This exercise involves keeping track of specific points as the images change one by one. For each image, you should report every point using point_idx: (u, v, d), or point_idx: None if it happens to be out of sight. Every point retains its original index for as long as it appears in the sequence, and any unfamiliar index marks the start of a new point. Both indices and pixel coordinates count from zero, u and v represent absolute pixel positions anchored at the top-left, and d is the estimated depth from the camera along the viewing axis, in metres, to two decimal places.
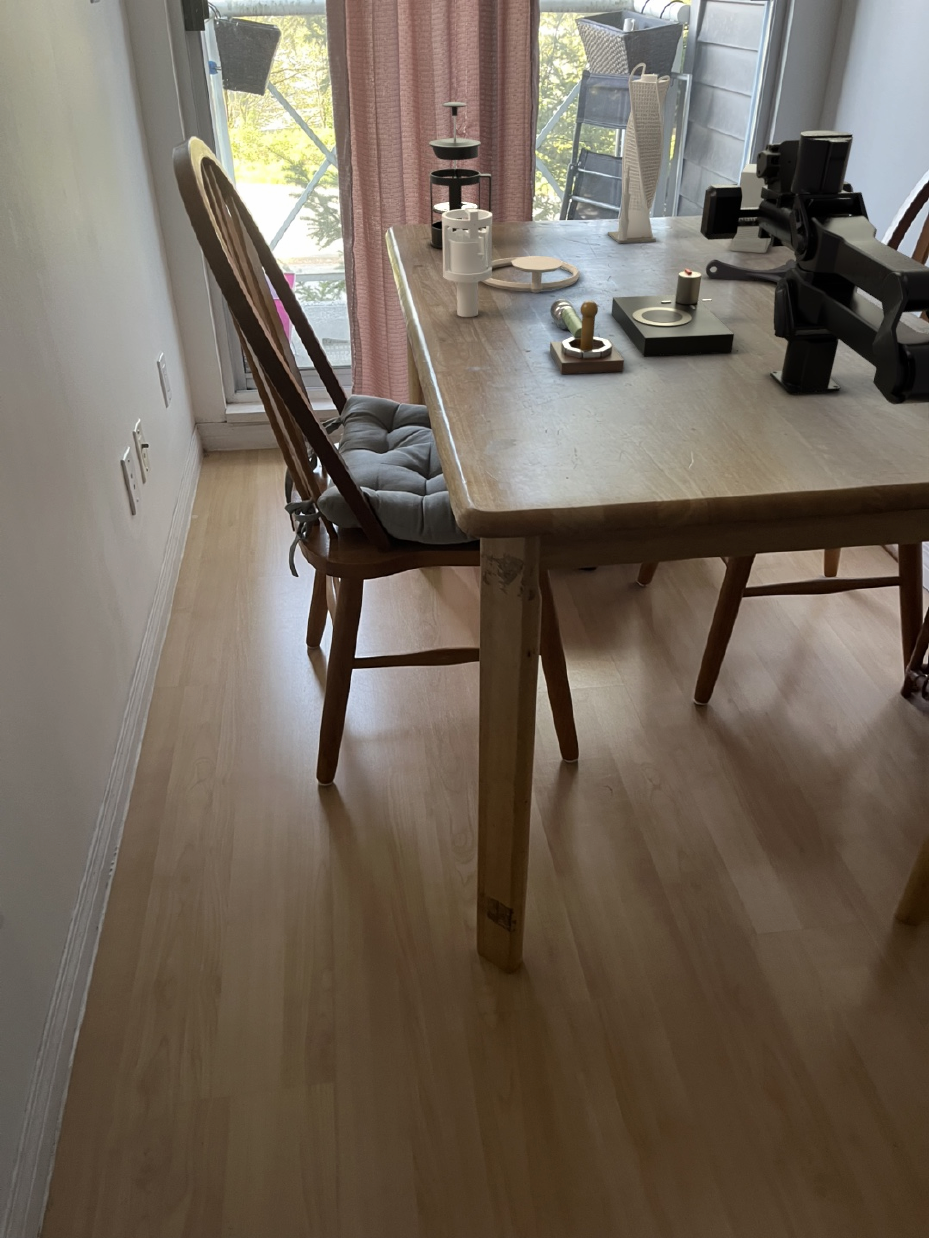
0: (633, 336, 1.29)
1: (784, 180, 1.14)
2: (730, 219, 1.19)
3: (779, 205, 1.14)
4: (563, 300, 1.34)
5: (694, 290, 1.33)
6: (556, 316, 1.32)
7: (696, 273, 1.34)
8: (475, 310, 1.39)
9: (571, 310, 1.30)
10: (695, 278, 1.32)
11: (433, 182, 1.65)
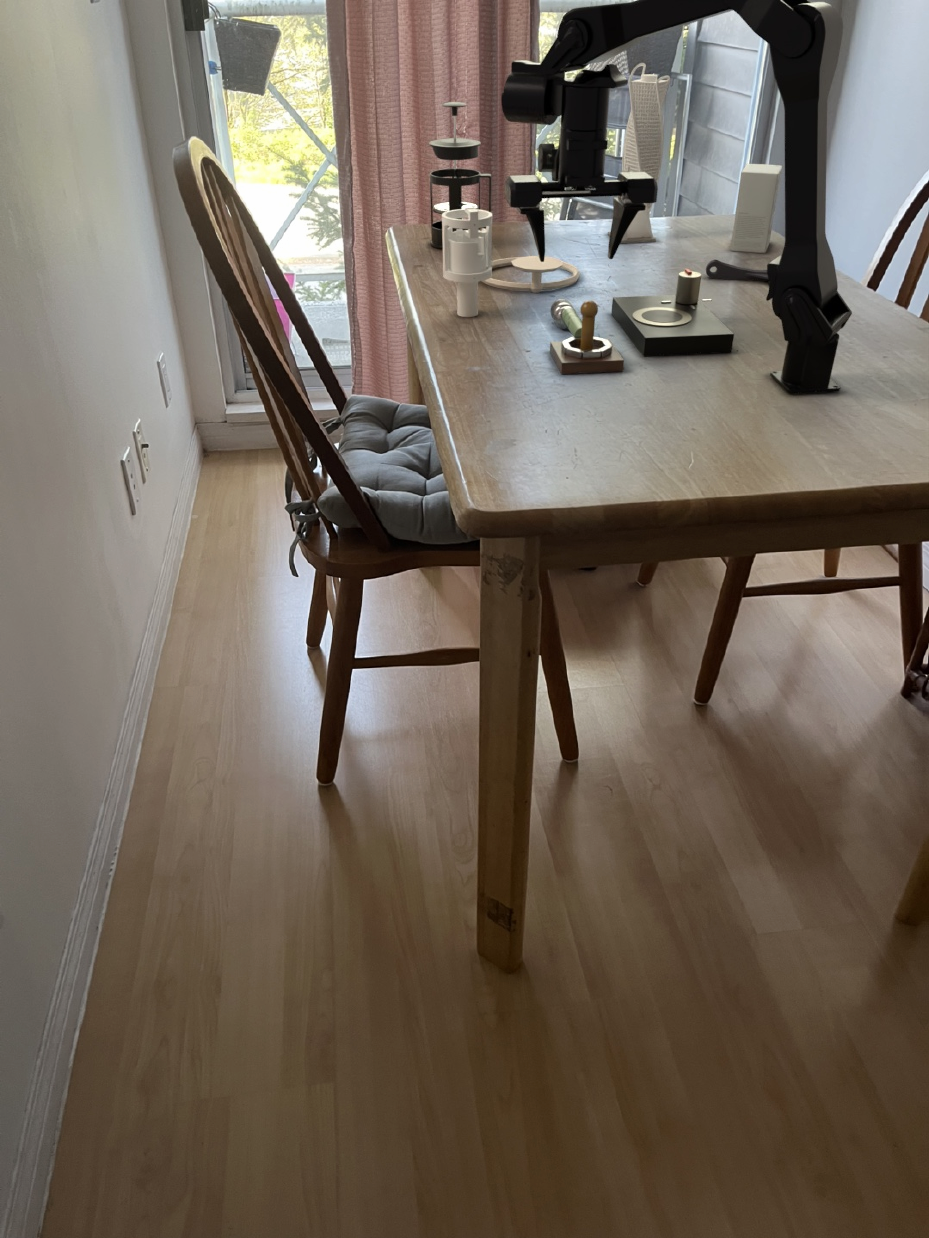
0: (633, 336, 1.29)
1: None
2: (530, 179, 1.18)
3: None
4: (563, 300, 1.34)
5: (694, 290, 1.33)
6: (556, 316, 1.32)
7: (696, 273, 1.34)
8: (475, 310, 1.39)
9: (571, 310, 1.30)
10: (695, 278, 1.32)
11: (433, 182, 1.65)
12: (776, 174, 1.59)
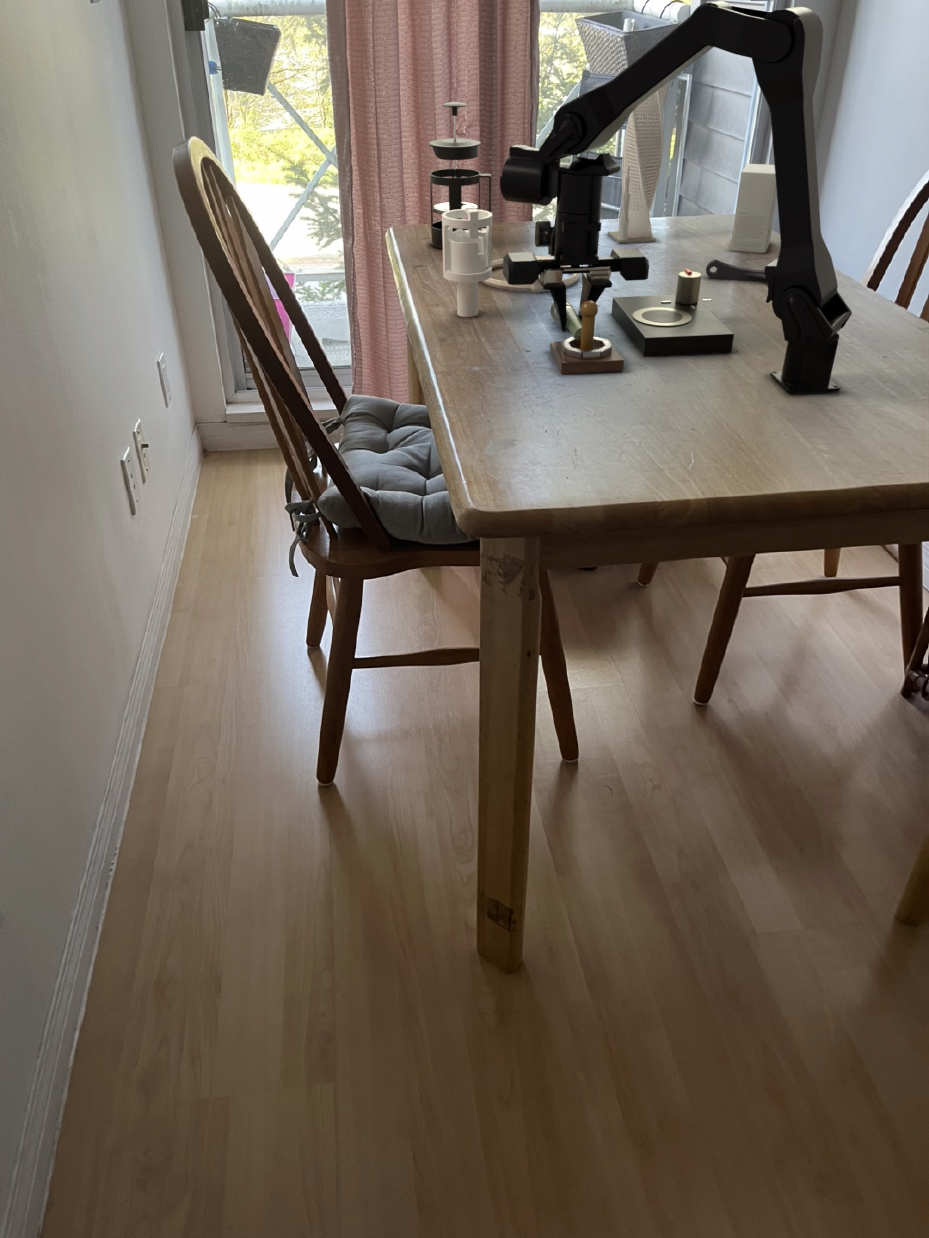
0: (633, 336, 1.29)
1: None
2: (527, 257, 1.23)
3: None
4: None
5: (694, 290, 1.33)
6: (556, 316, 1.32)
7: (696, 273, 1.34)
8: (475, 310, 1.39)
9: (571, 310, 1.30)
10: (695, 278, 1.32)
11: (433, 182, 1.65)
12: None
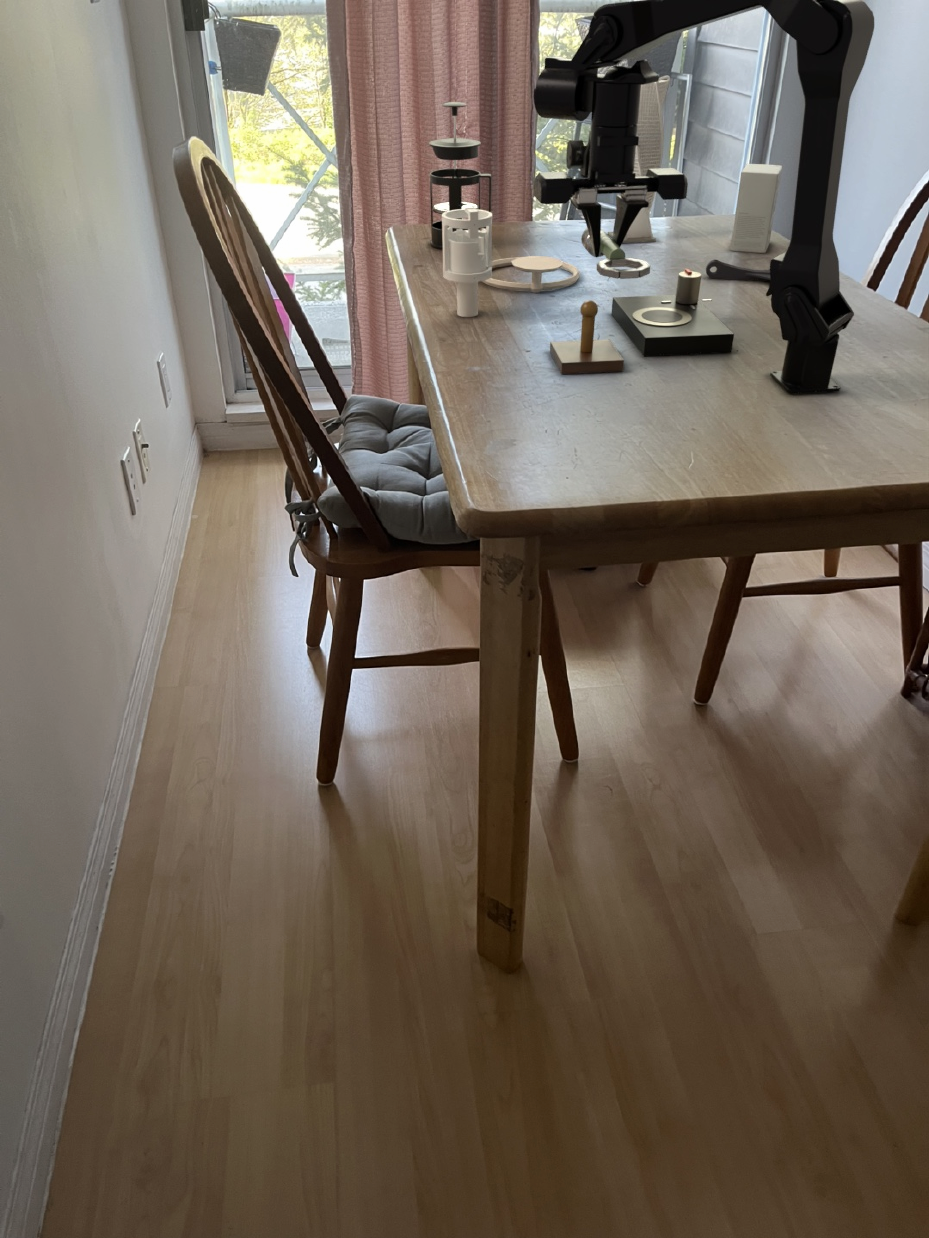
0: (633, 336, 1.29)
1: None
2: (560, 176, 1.18)
3: (591, 132, 1.18)
4: None
5: (694, 290, 1.33)
6: (588, 243, 1.27)
7: (696, 273, 1.34)
8: (475, 310, 1.39)
9: (604, 234, 1.24)
10: (695, 278, 1.32)
11: (433, 182, 1.65)
12: (776, 174, 1.59)
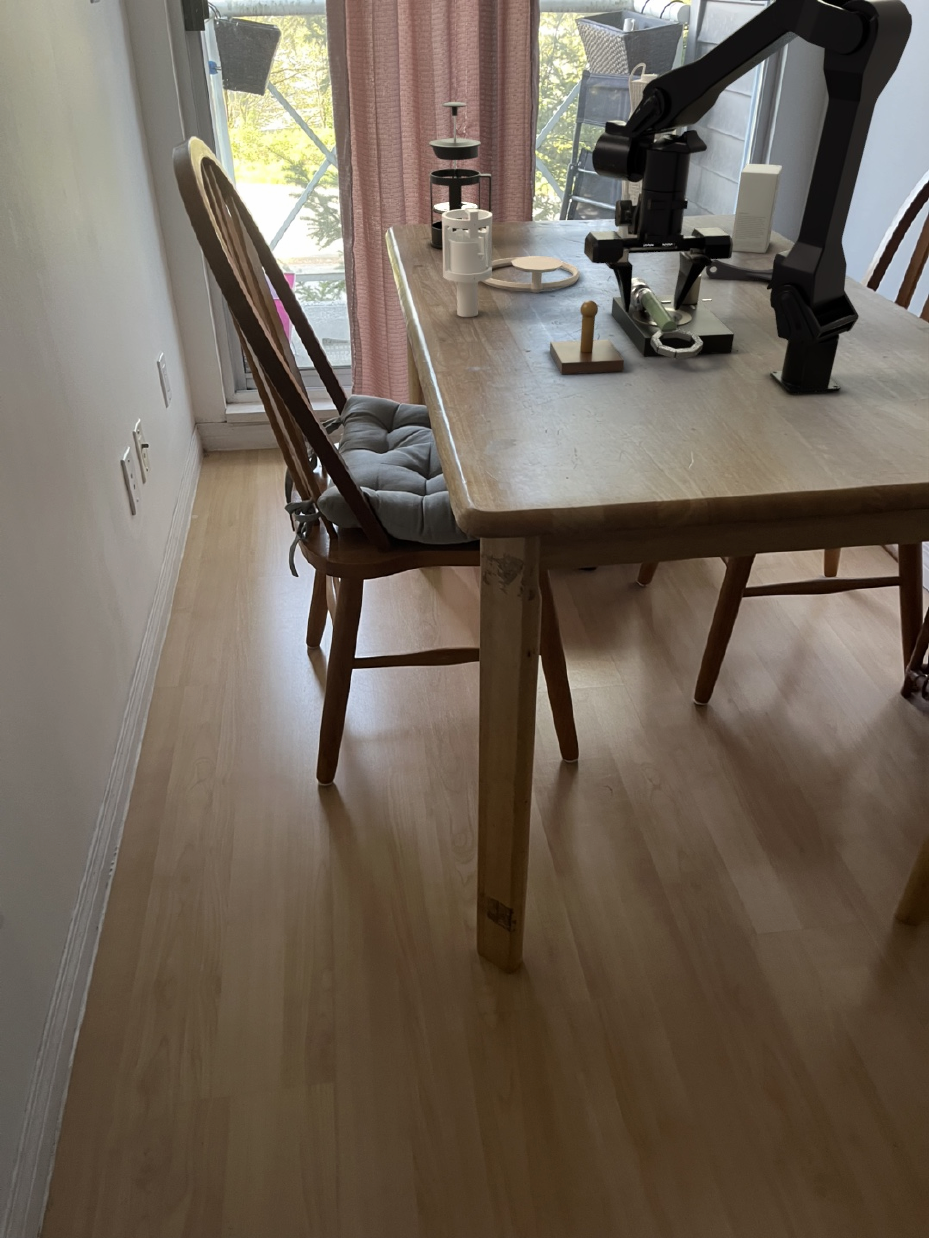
0: (633, 336, 1.29)
1: None
2: (611, 236, 1.23)
3: (640, 195, 1.23)
4: (639, 279, 1.32)
5: (694, 290, 1.33)
6: (634, 299, 1.30)
7: None
8: (475, 310, 1.39)
9: (652, 295, 1.28)
10: None
11: (433, 182, 1.65)
12: (776, 174, 1.59)
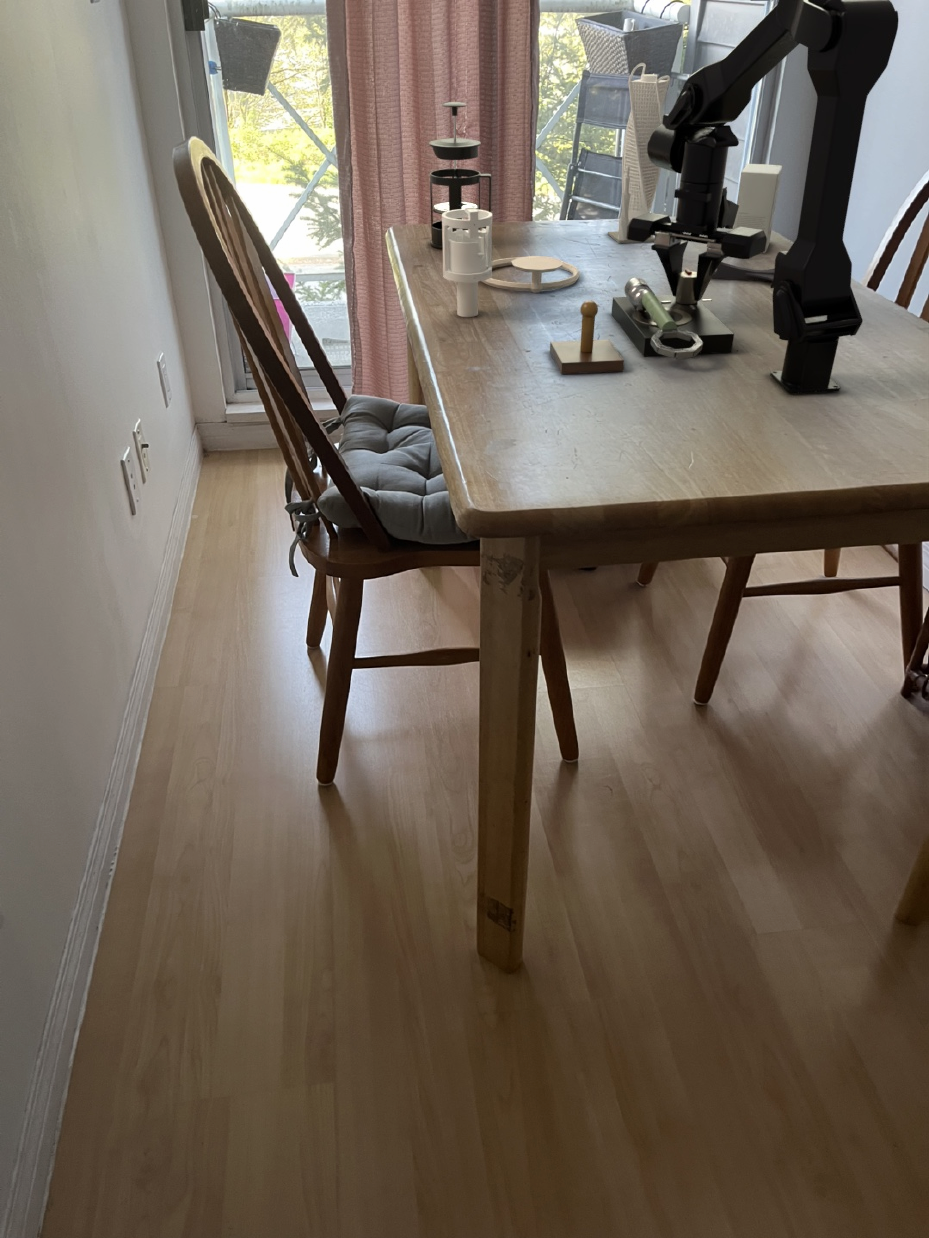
0: (633, 336, 1.29)
1: None
2: (652, 218, 1.33)
3: None
4: (639, 279, 1.32)
5: (694, 290, 1.33)
6: (634, 299, 1.30)
7: (696, 273, 1.34)
8: (475, 310, 1.39)
9: (652, 295, 1.28)
10: (695, 278, 1.32)
11: (433, 182, 1.65)
12: (776, 174, 1.59)
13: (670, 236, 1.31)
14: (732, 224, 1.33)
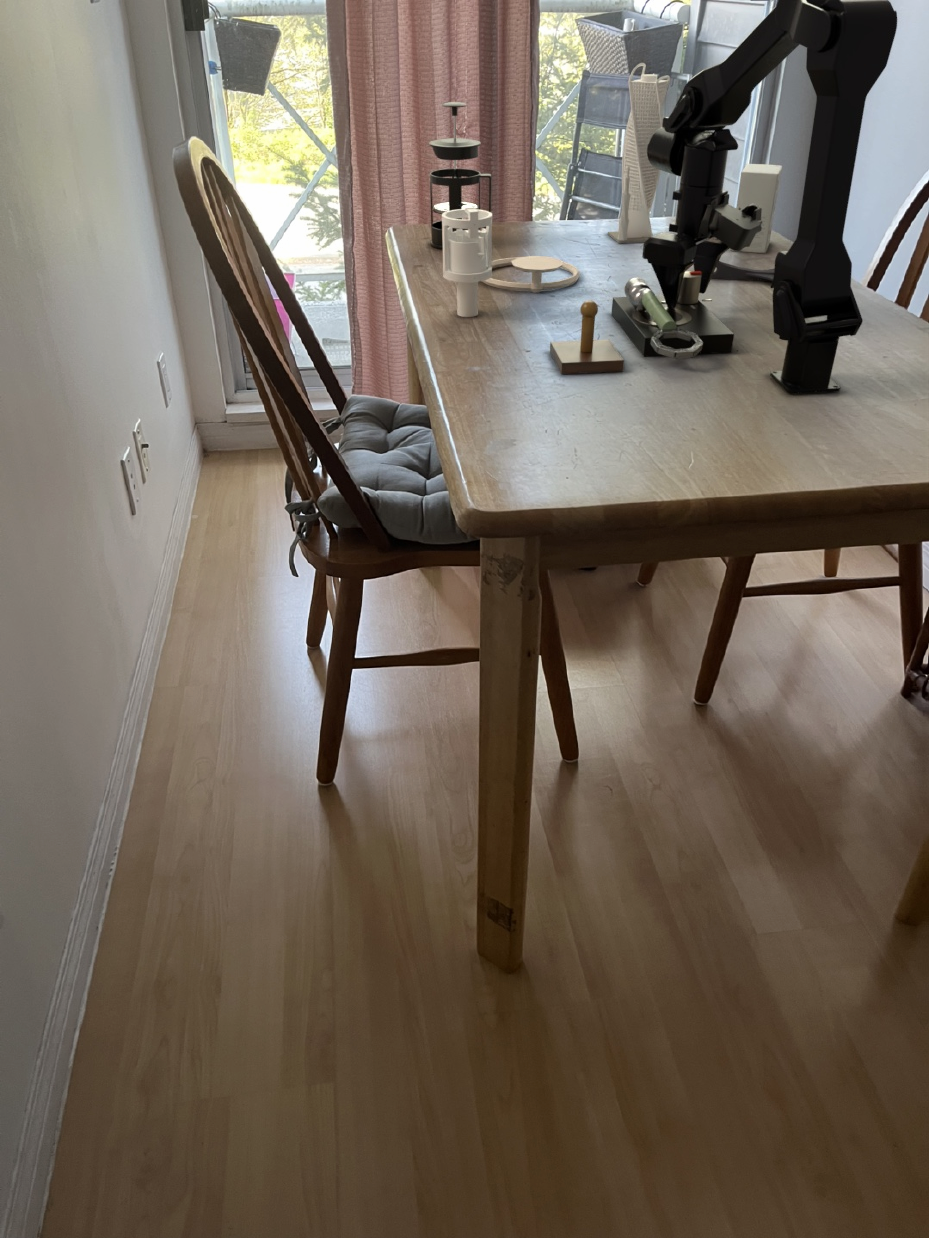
0: (633, 336, 1.29)
1: (733, 209, 1.27)
2: None
3: None
4: (639, 279, 1.32)
5: None
6: (634, 299, 1.30)
7: (693, 276, 1.33)
8: (475, 310, 1.39)
9: (652, 295, 1.28)
10: None
11: (433, 182, 1.65)
12: (776, 174, 1.59)
13: None
14: (730, 244, 1.26)
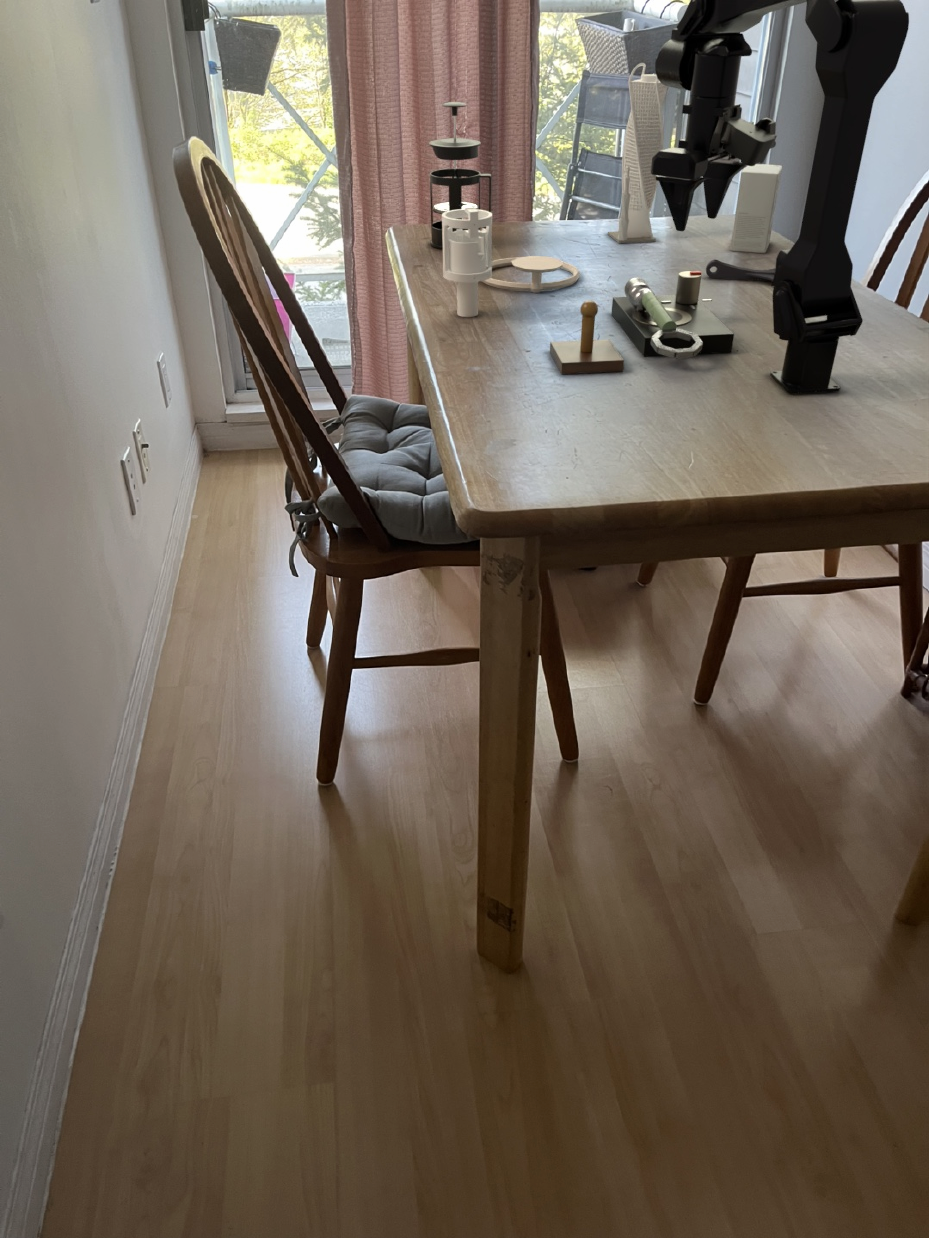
0: (633, 336, 1.29)
1: (746, 122, 1.21)
2: None
3: None
4: (639, 279, 1.32)
5: (678, 288, 1.34)
6: (634, 299, 1.30)
7: (693, 276, 1.33)
8: (475, 310, 1.39)
9: (652, 295, 1.28)
10: (679, 276, 1.33)
11: (433, 182, 1.65)
12: (776, 174, 1.59)
13: None
14: (743, 158, 1.20)
